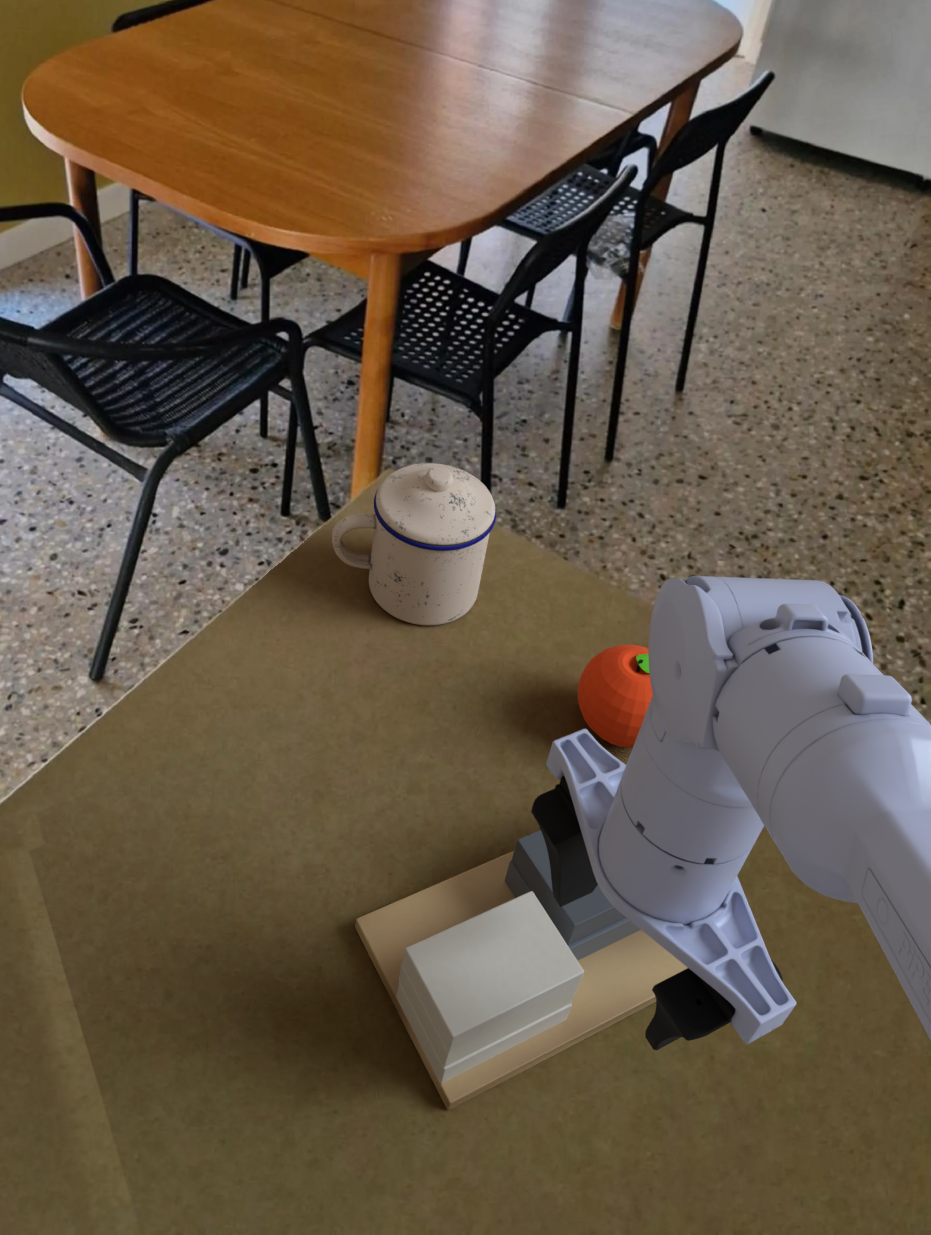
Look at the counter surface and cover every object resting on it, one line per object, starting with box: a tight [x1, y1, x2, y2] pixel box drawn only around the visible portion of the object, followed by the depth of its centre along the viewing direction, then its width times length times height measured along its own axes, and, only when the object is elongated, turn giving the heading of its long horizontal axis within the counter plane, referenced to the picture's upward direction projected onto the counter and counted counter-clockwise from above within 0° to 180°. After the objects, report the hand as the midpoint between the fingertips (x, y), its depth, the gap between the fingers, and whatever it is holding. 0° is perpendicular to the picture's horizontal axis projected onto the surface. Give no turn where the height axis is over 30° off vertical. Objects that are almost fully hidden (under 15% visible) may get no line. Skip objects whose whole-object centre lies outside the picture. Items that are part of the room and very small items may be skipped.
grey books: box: [505, 829, 641, 961], centre depth 66 cm, size 6×9×4 cm, turn 116°
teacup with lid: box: [331, 462, 497, 626], centre depth 84 cm, size 12×9×12 cm
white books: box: [396, 965, 577, 1084], centre depth 60 cm, size 5×8×4 cm, turn 116°
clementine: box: [577, 644, 653, 749], centre depth 76 cm, size 8×7×7 cm
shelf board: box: [354, 850, 688, 1111], centre depth 65 cm, size 11×18×1 cm, turn 116°
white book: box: [402, 891, 584, 1052], centre depth 58 cm, size 5×8×2 cm, turn 116°
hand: (617, 961), depth 55 cm, fingers open, 7 cm apart
